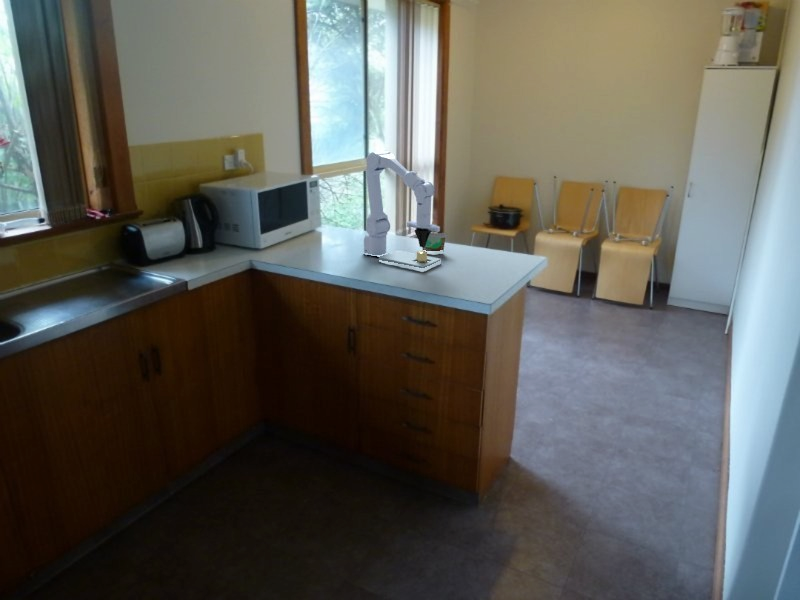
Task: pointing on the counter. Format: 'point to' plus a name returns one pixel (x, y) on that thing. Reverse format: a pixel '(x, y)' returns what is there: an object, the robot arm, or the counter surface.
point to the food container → (435, 242)
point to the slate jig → (407, 259)
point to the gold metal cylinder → (422, 257)
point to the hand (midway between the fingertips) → (422, 246)
